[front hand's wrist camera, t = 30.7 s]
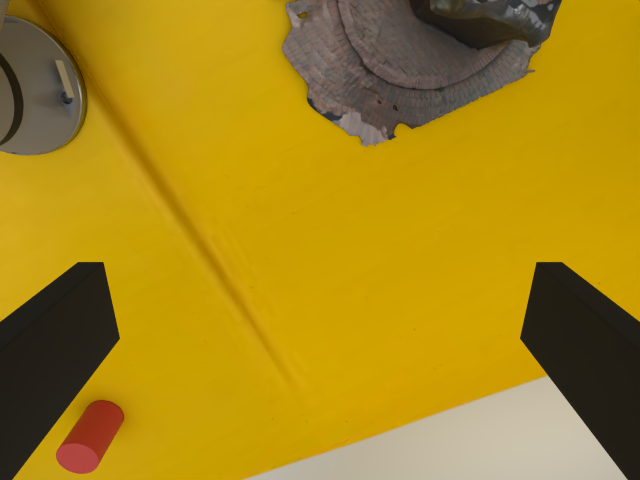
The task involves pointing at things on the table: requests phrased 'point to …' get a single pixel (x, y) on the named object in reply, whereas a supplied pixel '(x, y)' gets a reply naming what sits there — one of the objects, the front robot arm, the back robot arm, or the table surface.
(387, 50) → the sculpture
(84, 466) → the can
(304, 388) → the table surface
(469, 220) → the table surface
